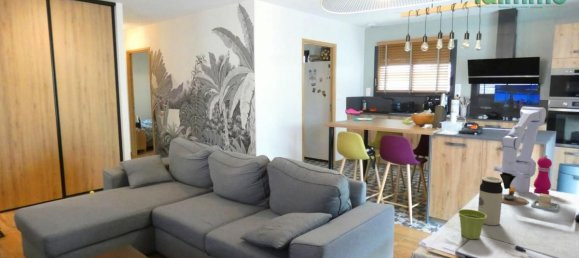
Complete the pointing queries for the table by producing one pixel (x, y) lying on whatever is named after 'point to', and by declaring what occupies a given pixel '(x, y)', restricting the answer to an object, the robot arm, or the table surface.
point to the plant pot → (471, 223)
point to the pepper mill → (543, 176)
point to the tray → (545, 207)
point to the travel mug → (490, 199)
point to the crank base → (515, 201)
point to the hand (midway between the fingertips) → (506, 188)
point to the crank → (510, 193)
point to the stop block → (545, 200)
